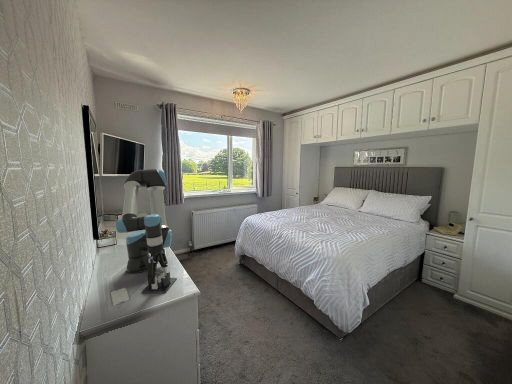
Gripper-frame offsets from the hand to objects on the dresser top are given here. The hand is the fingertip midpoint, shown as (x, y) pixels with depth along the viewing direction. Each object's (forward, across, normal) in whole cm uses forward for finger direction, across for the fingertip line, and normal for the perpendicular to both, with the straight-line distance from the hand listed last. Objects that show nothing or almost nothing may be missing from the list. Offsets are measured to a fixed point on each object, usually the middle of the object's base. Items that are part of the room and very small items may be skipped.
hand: (159, 283), depth 116 cm
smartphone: (+2, +9, -16) cm, 19 cm away
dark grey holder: (+1, 0, 0) cm, 1 cm away
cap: (+1, 0, 0) cm, 1 cm away
